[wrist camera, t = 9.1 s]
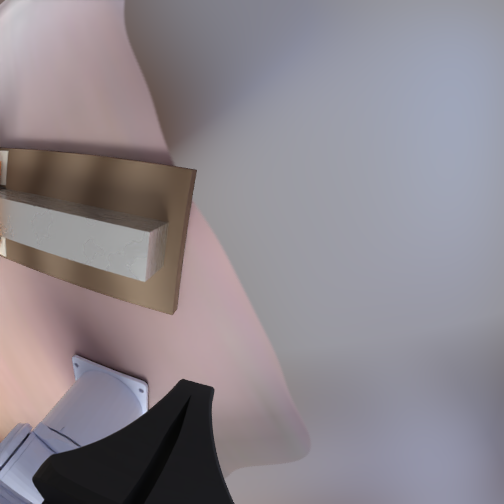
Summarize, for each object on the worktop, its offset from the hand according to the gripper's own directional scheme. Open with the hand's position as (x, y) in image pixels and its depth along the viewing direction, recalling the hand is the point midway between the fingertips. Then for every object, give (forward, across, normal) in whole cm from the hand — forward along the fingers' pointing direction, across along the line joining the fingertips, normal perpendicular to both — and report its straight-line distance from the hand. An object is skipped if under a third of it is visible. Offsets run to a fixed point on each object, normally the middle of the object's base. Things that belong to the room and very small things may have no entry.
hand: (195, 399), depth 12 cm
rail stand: (+10, +17, -3) cm, 20 cm away
